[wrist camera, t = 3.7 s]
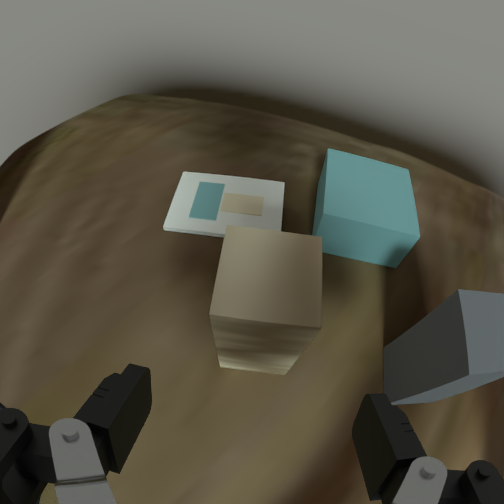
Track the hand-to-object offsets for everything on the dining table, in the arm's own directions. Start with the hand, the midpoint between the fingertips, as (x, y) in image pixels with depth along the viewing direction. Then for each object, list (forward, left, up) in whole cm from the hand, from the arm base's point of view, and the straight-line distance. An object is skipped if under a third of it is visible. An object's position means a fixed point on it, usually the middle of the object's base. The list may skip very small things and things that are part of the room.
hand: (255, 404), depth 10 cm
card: (-4, +18, -10) cm, 21 cm away
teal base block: (+8, +18, -10) cm, 22 cm away
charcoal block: (+12, +4, -10) cm, 16 cm away
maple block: (0, +6, -10) cm, 11 cm away
